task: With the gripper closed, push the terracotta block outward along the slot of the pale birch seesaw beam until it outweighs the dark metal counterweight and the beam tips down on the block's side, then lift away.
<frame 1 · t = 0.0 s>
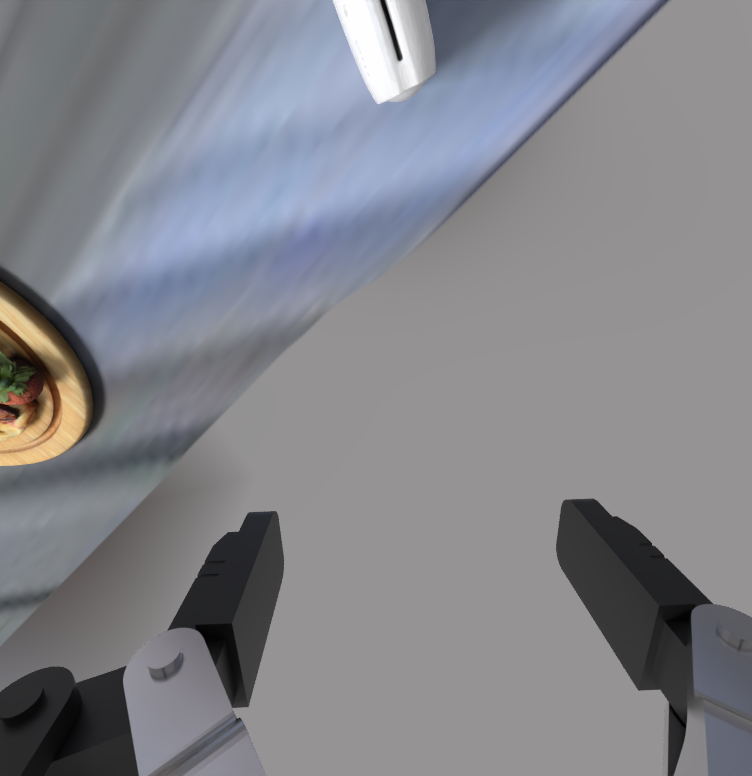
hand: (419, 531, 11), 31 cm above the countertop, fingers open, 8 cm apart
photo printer: (369, 8, 27), on the countertop
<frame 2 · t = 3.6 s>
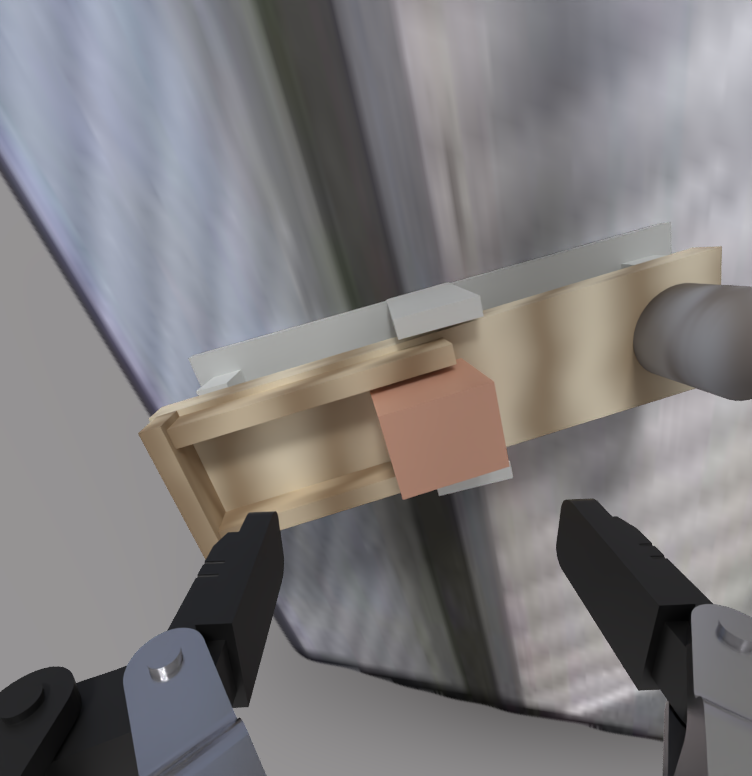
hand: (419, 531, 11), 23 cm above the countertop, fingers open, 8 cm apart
rider: (423, 408, 25), point 9 cm above the countertop, tilted 6°, touching beam
beam: (463, 406, 23), point 10 cm above the countertop, hinge at -6.0°, touching rider
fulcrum: (433, 362, 33), on the countertop
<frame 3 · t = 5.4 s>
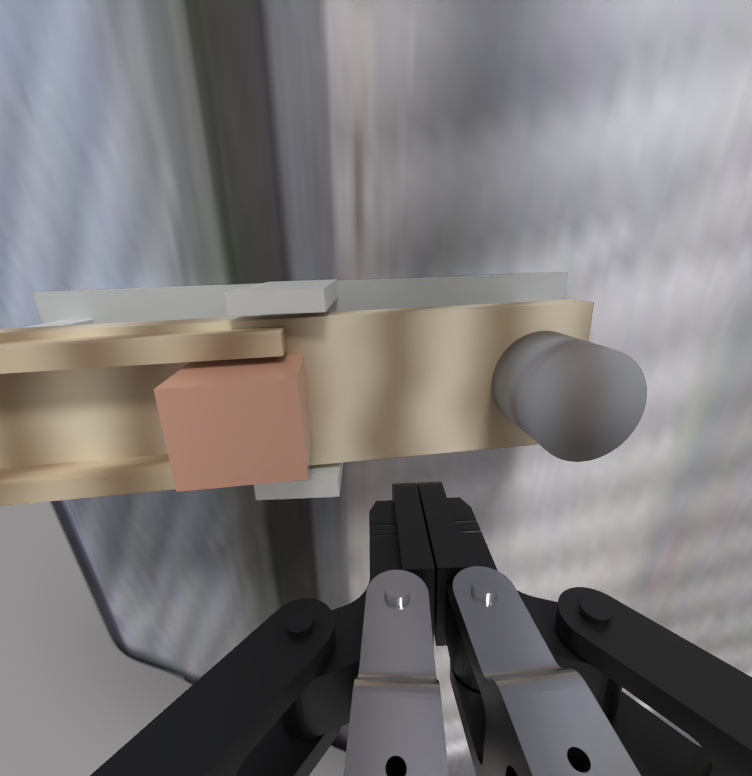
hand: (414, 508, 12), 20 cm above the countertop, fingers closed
rider: (254, 400, 22), point 9 cm above the countertop, tilted 6°, touching beam
beam: (289, 406, 21), point 10 cm above the countertop, hinge at -6.0°, touching rider
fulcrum: (310, 361, 31), on the countertop
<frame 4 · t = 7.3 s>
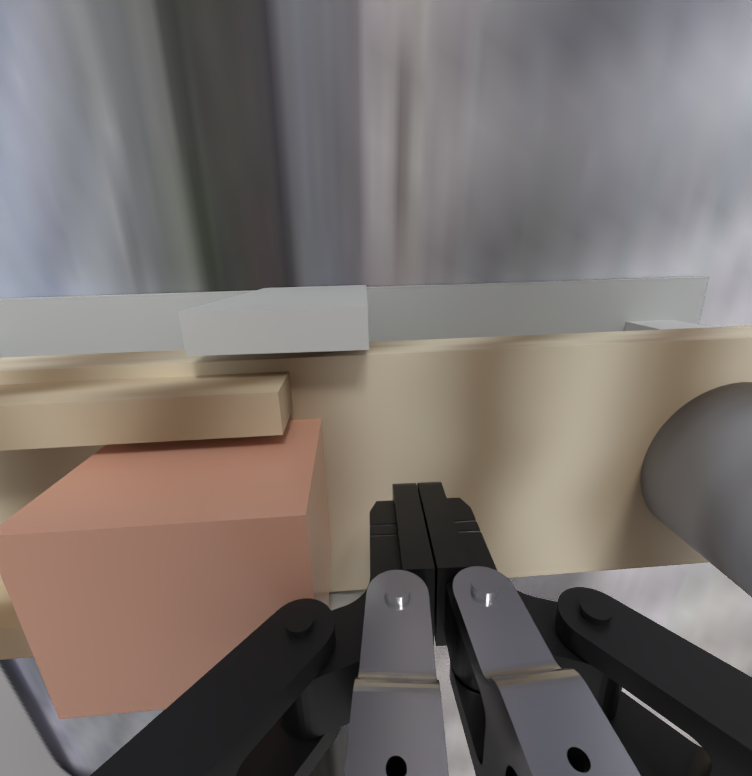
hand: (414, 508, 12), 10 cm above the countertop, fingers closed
rider: (236, 492, 13), point 9 cm above the countertop, touching beam, gripper
beam: (295, 515, 12), point 10 cm above the countertop, hinge at -2.3°, touching rider
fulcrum: (324, 401, 21), on the countertop
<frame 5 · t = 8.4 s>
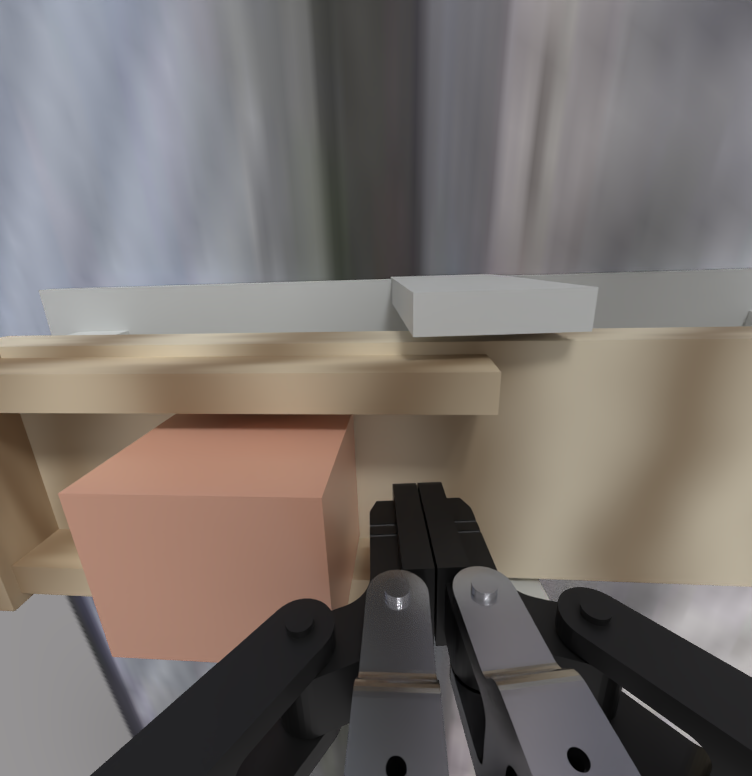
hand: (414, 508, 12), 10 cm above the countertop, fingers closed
rider: (273, 475, 14), point 8 cm above the countertop, tilted 6°, touching gripper
beam: (487, 496, 12), point 10 cm above the countertop, hinge at 6.0°
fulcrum: (437, 391, 21), on the countertop
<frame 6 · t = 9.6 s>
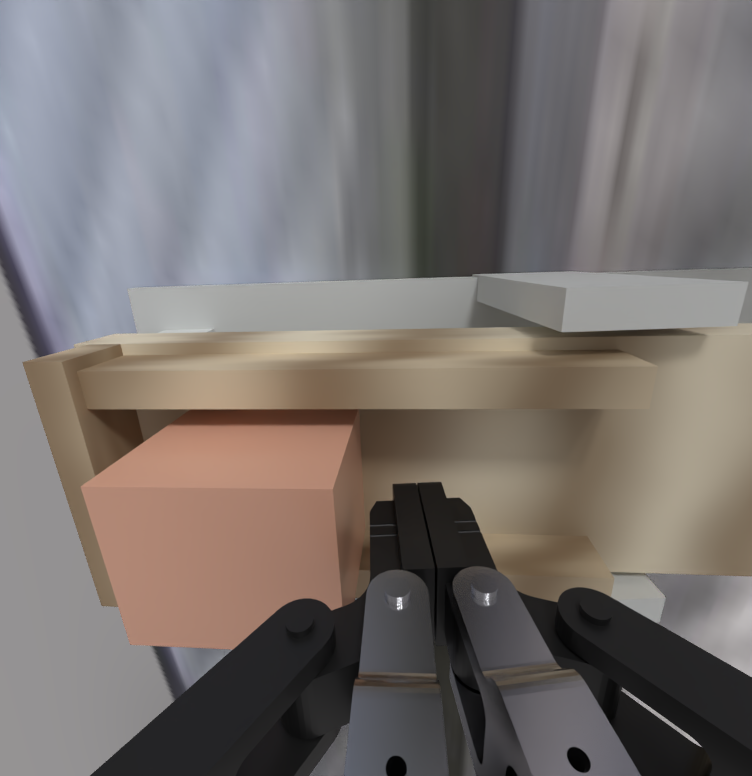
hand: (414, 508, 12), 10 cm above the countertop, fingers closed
rider: (281, 471, 14), point 7 cm above the countertop, tilted 6°, touching beam, gripper
beam: (621, 490, 12), point 10 cm above the countertop, hinge at 6.1°, touching rider
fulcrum: (512, 388, 21), on the countertop
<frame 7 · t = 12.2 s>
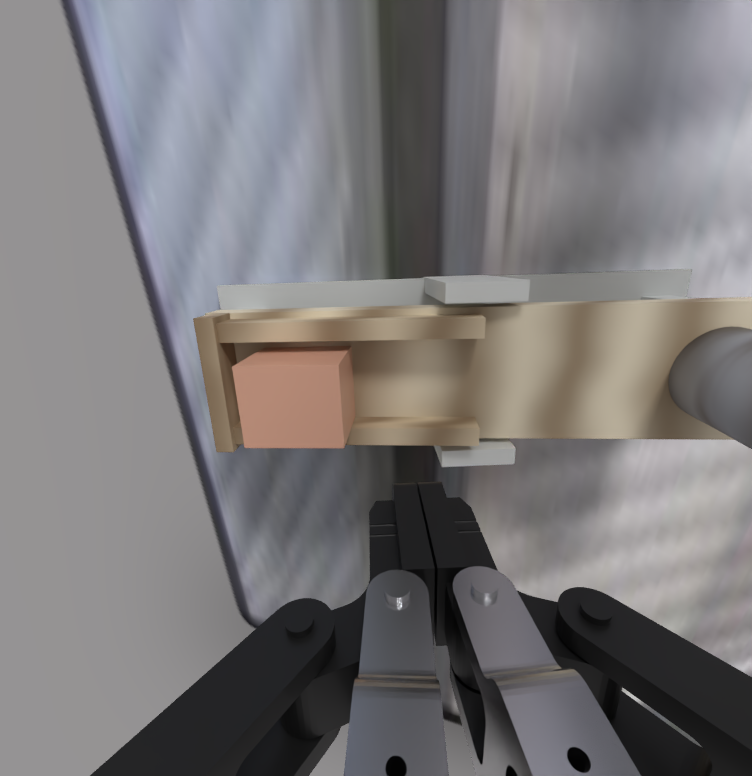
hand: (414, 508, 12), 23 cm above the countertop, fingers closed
rider: (310, 382, 27), point 7 cm above the countertop, tilted 6°, touching beam
beam: (480, 382, 24), point 10 cm above the countertop, hinge at 6.0°, touching rider
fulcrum: (451, 348, 34), on the countertop
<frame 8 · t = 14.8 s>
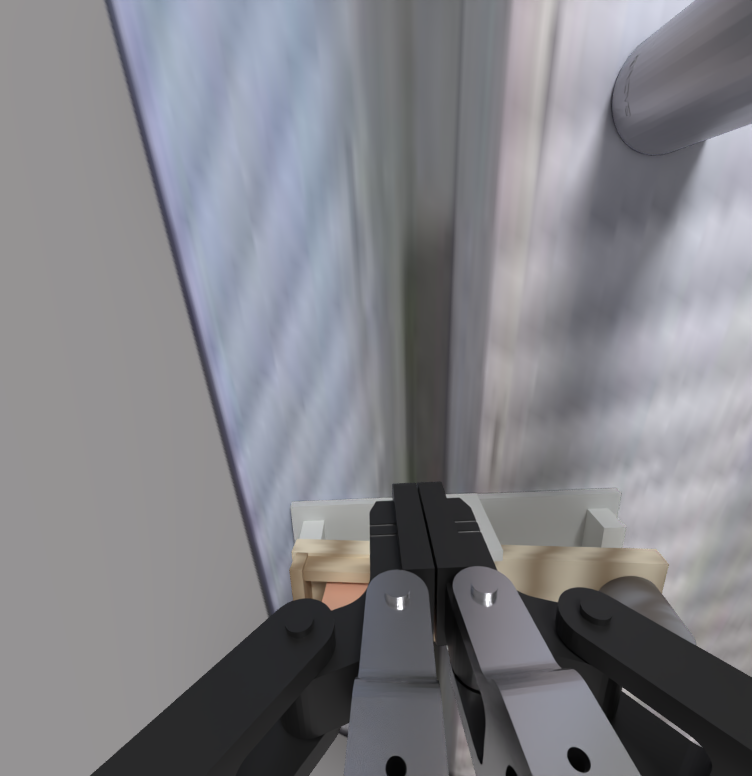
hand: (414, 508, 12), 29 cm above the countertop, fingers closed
rider: (359, 592, 41), point 7 cm above the countertop, tilted 6°, touching beam
beam: (472, 606, 38), point 10 cm above the countertop, hinge at 6.0°, touching rider
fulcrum: (453, 537, 47), on the countertop
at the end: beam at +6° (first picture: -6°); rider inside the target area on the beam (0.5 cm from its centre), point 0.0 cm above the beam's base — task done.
